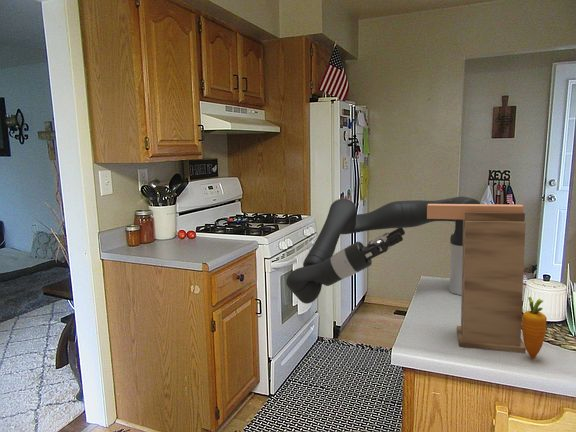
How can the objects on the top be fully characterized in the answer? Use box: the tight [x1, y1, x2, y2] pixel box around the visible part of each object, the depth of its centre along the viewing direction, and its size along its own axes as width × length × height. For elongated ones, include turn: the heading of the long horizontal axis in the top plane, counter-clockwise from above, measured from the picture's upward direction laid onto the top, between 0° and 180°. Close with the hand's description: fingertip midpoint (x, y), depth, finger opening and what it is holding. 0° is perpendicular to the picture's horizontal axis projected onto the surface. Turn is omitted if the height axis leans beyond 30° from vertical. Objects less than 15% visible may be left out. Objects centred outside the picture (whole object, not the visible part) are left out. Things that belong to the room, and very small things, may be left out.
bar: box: [427, 203, 524, 220], centre depth 108 cm, size 4×22×4 cm, turn 67°
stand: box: [456, 212, 527, 354], centre depth 109 cm, size 11×15×34 cm
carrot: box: [521, 296, 547, 359], centre depth 100 cm, size 5×5×15 cm
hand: (402, 232), depth 114 cm, fingers open, 8 cm apart
